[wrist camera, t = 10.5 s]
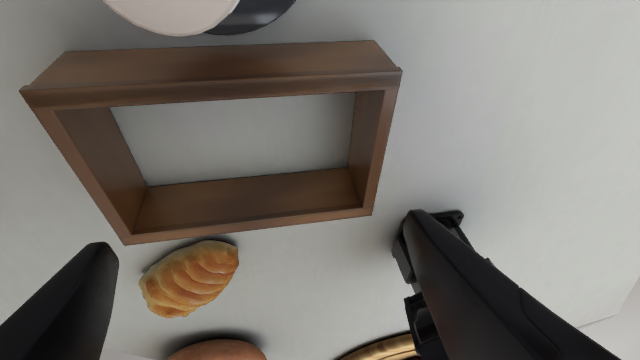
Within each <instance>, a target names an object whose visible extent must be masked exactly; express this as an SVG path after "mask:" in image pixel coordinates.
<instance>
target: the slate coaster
mask: <svg viewBox="0 0 640 360" xmlns="http://www.w3.org/2000/svg"><path fill="white" fill-rule="evenodd" d="M295 1H296V0H240V1H239V3H238V4H237V6H236V7H235V8H234V10H233V11H232V12H231V13H230V14H228V16H227V17H225V18H224V19H223V20H222V21H221V22H220V23H218V24H217V25H216V26H215V27H214V28H211V29H209V30H207V31H204V32H202V33H208V34H214V35H234V34H242V33H246V32H250V31H254V30H256V29H259V28H261V27H264V26H266V25H267V24H269V23H271V22H273V21H274V20H276V19H277V18H278V17H280V16H281V15H282V14H284V13H285V12H286V11H287V10H288V9H289V8H290V7H291V6H292V5H293V4H294V3H295Z"/></svg>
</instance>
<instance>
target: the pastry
mask: <svg viewBox="0 0 640 360" xmlns="http://www.w3.org/2000/svg"><path fill="white" fill-rule="evenodd" d="M238 265H239V260H238V248H237V247H235V246H232V245H230V244H228V243H224V242H219V241H214V240H207V241H205V240H203V241H202V242H196V243H194V244H193V245H191V246H188V247H183V248H180V249H177V250H175V251H173V252H172V253H171V254H168V255H167V256H166V257H164V258H162V259H161V260H160V261H159V262H158V263H155V264H154V265H152V266H151V267H150V270H149V271H148V272H146V273H145V274H144V276H143V277H142V278H141V279H140V280H139V287H140V289H141V290H142V295H143V297H144V299H145V300H146V302H147V306H148V308H149V309H150V310H151V311H152V312H153V313H155V314H157V315H159V316H162V317H165V318H174V317H177V316H182V317H186V316H187V315H188V314H189V313H191V312H193V311H195V310H196V309H197V308H198V307H200V306H202V305H205V304H207V303H209V302H210V301H212V300H214V299H215V298H216V297H217V296H218V295H219V293H221V292H222V291H223V289H224V288H225V287H226V286H227V285H228V283H229V281H230V280H231V279H232V276H233V274H234V272H235V270H236V268H237V267H238Z"/></svg>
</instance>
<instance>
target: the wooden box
mask: <svg viewBox="0 0 640 360" xmlns="http://www.w3.org/2000/svg"><path fill="white" fill-rule="evenodd" d="M402 72H403V71H402V69H401V68H400V67H397V66H396V65H395V64H394V63H393V62H392V60H391V59H390V58H389V57H388V56H387V55H386V53H385V52H384V51H383V50H382V49H381V48H380V46H379V45H378V44H377V43H376V42H375V41H346V42H319V43H291V44H264V45H236V46H209V47H181V48H154V49H126V50H99V51H72V52H64V53H63V54H62V55H61V56H60V57H59V58H58V59H57V60H56V61H54V62H53V63H52V64H51V65H50V66H49V67H48V68H47V69H46V70H45V71H44V72H43V73H41V74H40V75H39V76H38V77H37V78H36V79H35V80H34V81H33V82H32V83H31V84H30V85H26V86H23V87H22V88H21V89H20V90H19V92H20V94H21V95H22V97H23V98H24V100H25V101H26V103H27V104H28V105H29V107H30V108H31V110H32V111H33V112H34V114H35V115H36V117H37V118H38V120H39V121H40V123H41V124H42V125H43V127H44V128H45V130H46V131H47V133H48V134H49V136H50V137H51V139H52V140H53V142H54V143H55V145H56V146H57V147H58V149H59V150H60V152H61V153H62V155H63V156H64V158H65V159H66V161H67V162H68V164H69V165H70V166H71V168H72V169H73V171H74V172H75V174H76V175H77V177H78V178H79V180H80V181H81V183H82V184H83V186H84V187H85V188H86V190H87V191H88V193H89V194H90V196H91V197H92V199H93V200H94V202H95V203H96V205H97V206H98V208H99V209H100V210H101V212H102V213H103V215H104V216H105V218H106V219H107V221H108V222H109V224H110V225H111V227H112V228H113V230H114V231H115V232H116V234H117V235H118V237H119V239H120V240H121V242H122V243H123V245H124V246H127V245H136V244H144V243H152V242H160V241H168V240H176V239H184V238H193V237H201V236H209V235H217V234H225V233H233V232H241V231H250V230H258V229H266V228H274V227H282V226H290V225H298V224H307V223H315V222H323V221H331V220H339V219H347V218H355V217H364V216H371V215H372V211H373V207H374V201H375V196H376V192H377V187H378V182H379V178H380V173H381V168H382V164H383V159H384V154H385V150H386V145H387V140H388V136H389V131H390V126H391V122H392V117H393V112H394V108H395V103H396V98H397V94H398V89H399V86H400V81H401V76H402ZM345 92H356V99H355V108H354V117H353V125H352V134H351V143H350V151H349V160H348V168H338V169H328V170H318V171H307V172H297V173H287V174H277V175H266V176H256V177H246V178H236V179H226V180H215V181H205V182H195V183H185V184H175V185H164V186H154V187H147V185H146V183H145V181H144V179H143V177H142V175H141V173H140V171H139V169H138V167H137V165H136V163H135V161H134V159H133V157H132V155H131V152H130V150H129V148H128V146H127V144H126V142H125V140H124V138H123V136H122V134H121V132H120V130H119V128H118V126H117V124H116V122H115V120H114V118H113V116H112V114H111V112H110V110H109V108H108V107H116V106H133V105H149V104H165V103H182V102H198V101H214V100H231V99H247V98H263V97H280V96H296V95H312V94H329V93H345Z"/></svg>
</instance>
